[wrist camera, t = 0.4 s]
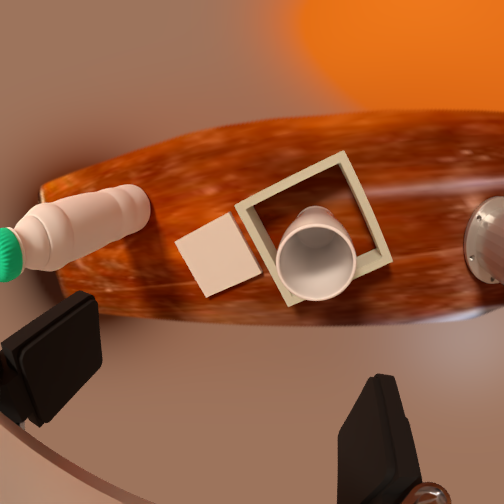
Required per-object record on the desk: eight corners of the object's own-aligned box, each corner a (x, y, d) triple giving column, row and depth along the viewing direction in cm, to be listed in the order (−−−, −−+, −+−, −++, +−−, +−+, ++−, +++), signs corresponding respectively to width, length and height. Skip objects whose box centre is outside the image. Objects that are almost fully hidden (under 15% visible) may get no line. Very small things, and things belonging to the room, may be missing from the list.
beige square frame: (340, 151, 35) (344, 150, 32) (385, 251, 38) (392, 261, 34) (241, 201, 40) (234, 205, 36) (290, 293, 42) (288, 306, 38)
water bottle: (111, 225, 45) (-20, 283, 21) (115, 180, 42) (-28, 213, 19) (149, 235, 44) (18, 308, 20) (155, 188, 41) (9, 228, 18)
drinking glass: (312, 262, 40) (310, 317, 26) (278, 222, 40) (257, 259, 25) (353, 229, 38) (374, 269, 24) (318, 188, 37) (321, 204, 23)
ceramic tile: (230, 211, 40) (228, 212, 40) (262, 271, 42) (261, 273, 41) (176, 240, 43) (174, 242, 42) (207, 295, 45) (206, 297, 44)
